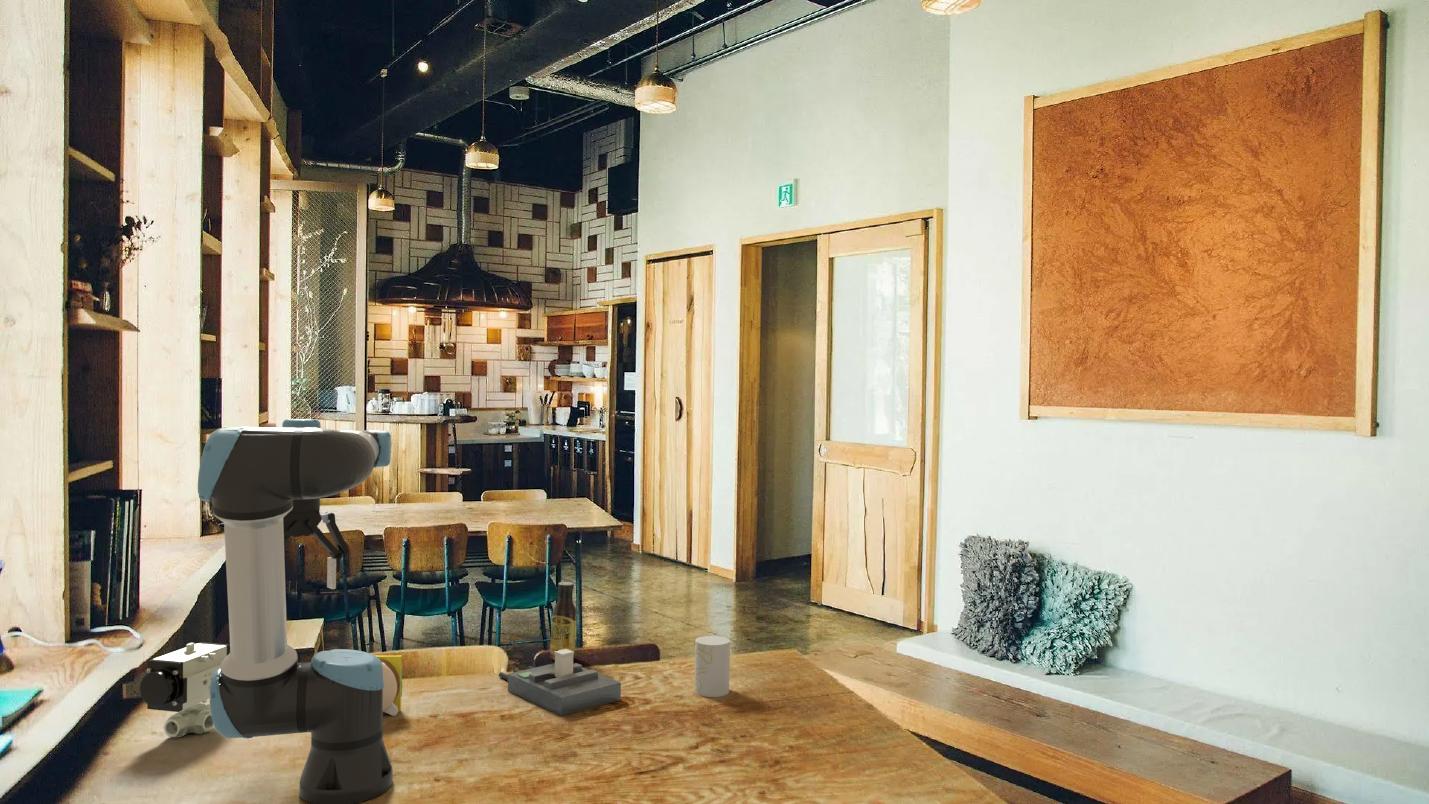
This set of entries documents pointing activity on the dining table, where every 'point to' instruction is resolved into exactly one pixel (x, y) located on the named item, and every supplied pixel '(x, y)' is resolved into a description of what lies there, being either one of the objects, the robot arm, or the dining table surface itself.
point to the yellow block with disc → (392, 683)
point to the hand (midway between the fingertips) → (299, 592)
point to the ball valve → (183, 686)
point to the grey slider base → (563, 688)
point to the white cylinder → (712, 666)
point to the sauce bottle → (563, 620)
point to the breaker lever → (563, 662)
